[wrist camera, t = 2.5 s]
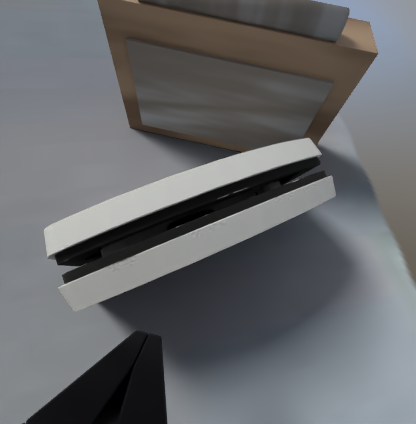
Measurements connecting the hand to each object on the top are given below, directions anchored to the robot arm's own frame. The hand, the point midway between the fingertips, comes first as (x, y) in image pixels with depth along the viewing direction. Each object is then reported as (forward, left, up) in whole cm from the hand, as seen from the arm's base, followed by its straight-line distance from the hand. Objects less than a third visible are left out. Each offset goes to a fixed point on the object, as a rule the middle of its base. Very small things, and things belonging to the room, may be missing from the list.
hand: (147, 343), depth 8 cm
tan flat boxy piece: (+19, 0, -8) cm, 20 cm away
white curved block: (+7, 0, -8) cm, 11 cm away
